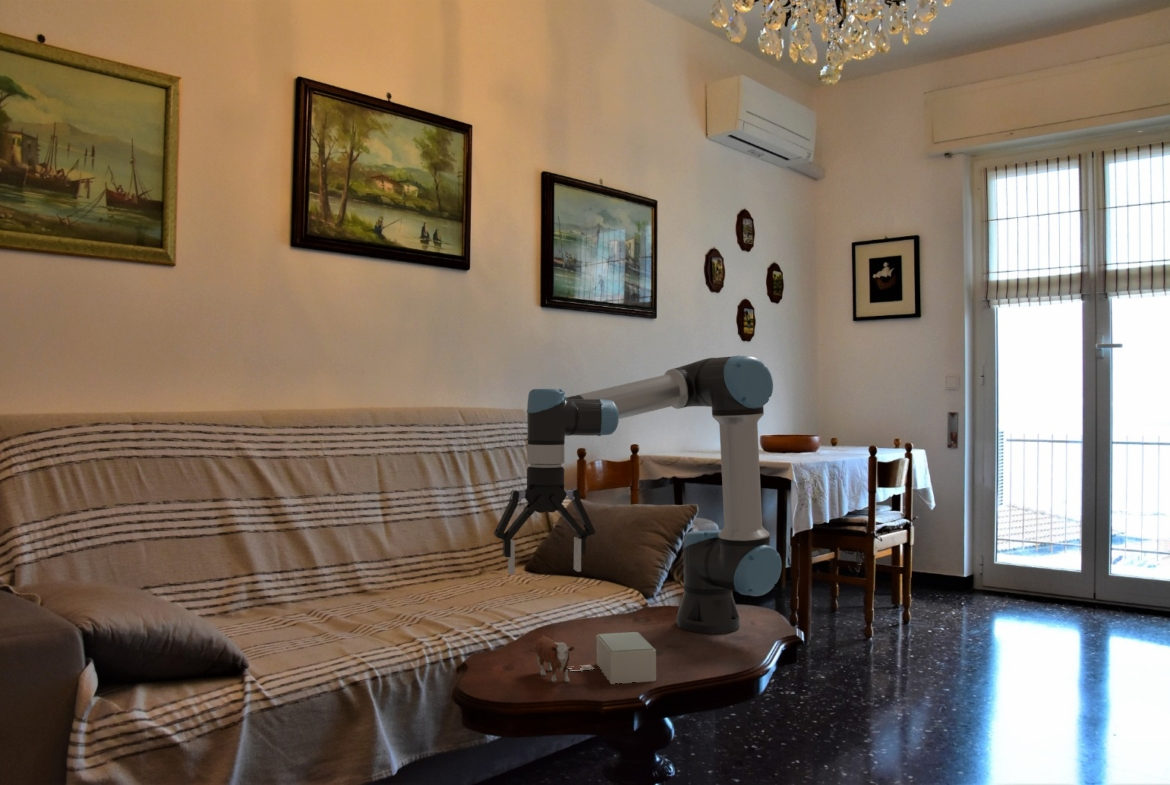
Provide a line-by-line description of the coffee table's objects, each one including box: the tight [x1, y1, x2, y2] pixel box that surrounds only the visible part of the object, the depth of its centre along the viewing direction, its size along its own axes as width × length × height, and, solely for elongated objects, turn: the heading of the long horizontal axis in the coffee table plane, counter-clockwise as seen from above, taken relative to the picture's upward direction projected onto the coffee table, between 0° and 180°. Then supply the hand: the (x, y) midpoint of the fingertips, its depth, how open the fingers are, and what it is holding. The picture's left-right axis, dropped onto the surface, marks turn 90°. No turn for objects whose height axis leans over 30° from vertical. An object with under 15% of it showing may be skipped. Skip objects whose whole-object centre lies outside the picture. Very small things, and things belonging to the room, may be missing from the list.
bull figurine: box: [535, 635, 575, 683], centre depth 172 cm, size 4×13×8 cm, turn 23°
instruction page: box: [567, 664, 596, 672], centre depth 178 cm, size 5×3×1 cm, turn 110°
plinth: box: [596, 631, 657, 685], centre depth 176 cm, size 9×13×6 cm
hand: (544, 572), depth 175 cm, fingers open, 13 cm apart
